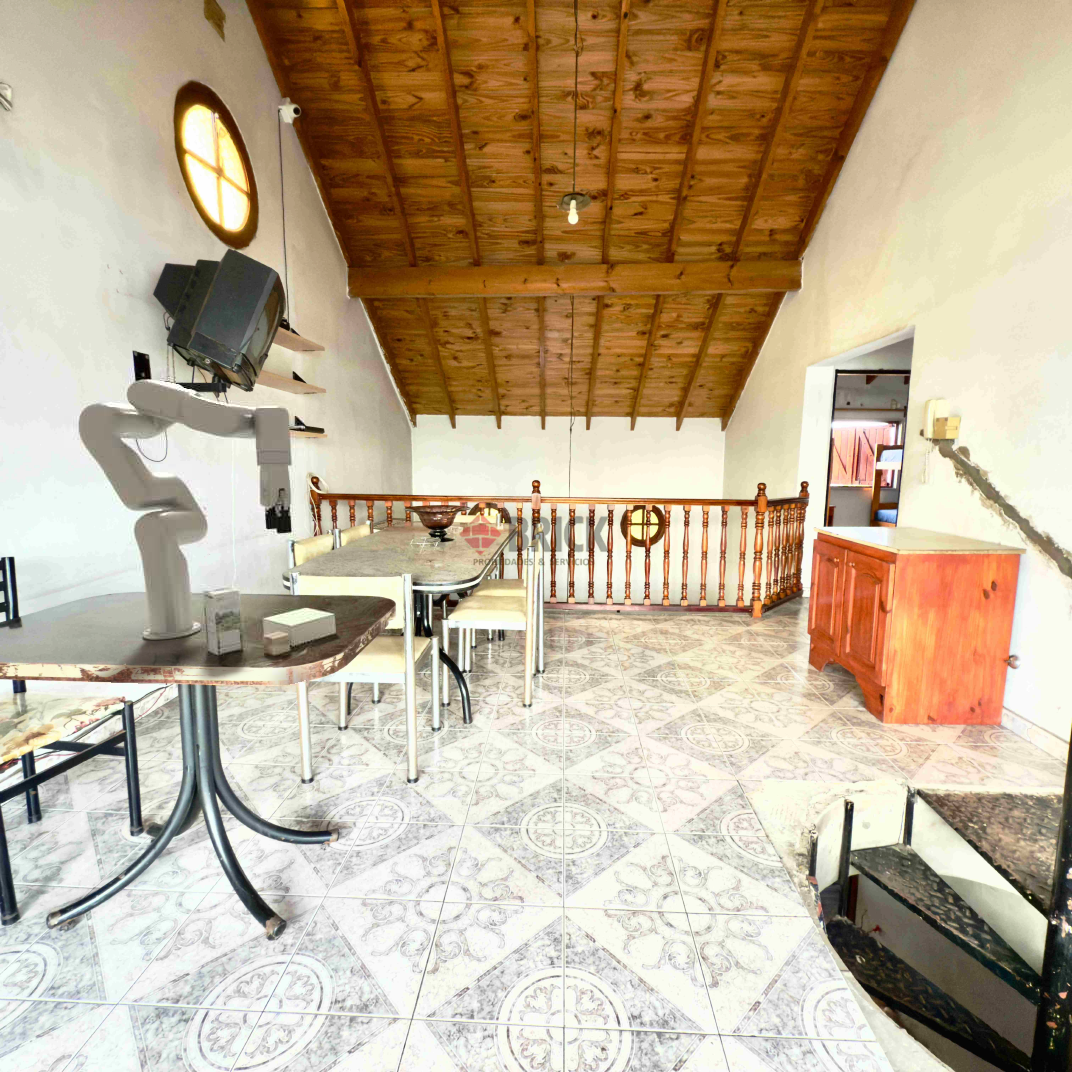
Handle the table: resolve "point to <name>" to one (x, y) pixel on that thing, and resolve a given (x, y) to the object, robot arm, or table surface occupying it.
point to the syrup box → (223, 620)
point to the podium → (301, 625)
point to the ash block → (276, 643)
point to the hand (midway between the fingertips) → (278, 530)
